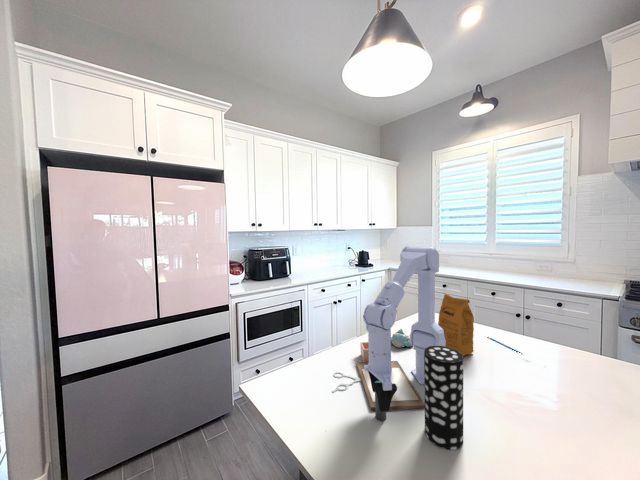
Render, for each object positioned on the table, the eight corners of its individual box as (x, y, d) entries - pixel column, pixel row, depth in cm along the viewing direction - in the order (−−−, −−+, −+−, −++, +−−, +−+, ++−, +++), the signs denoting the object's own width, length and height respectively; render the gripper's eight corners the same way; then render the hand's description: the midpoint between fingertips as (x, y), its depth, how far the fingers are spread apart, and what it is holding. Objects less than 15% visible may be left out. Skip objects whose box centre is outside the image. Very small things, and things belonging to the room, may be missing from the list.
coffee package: (451, 341, 113) (451, 291, 112) (477, 354, 101) (477, 298, 100) (433, 345, 109) (433, 293, 108) (458, 359, 98) (457, 301, 97)
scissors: (328, 372, 91) (384, 368, 92) (328, 374, 91) (384, 370, 92) (332, 391, 80) (396, 386, 82) (332, 394, 80) (396, 388, 82)
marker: (384, 412, 71) (384, 380, 70) (387, 421, 68) (387, 387, 67) (373, 413, 71) (373, 380, 70) (376, 421, 68) (375, 387, 67)
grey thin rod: (488, 338, 116) (488, 336, 116) (525, 356, 99) (525, 354, 99) (487, 338, 116) (487, 336, 116) (524, 356, 99) (524, 354, 99)
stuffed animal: (418, 329, 114) (410, 333, 104) (418, 346, 113) (409, 351, 103) (394, 324, 120) (384, 327, 111) (393, 340, 119) (383, 345, 110)
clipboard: (397, 363, 96) (397, 358, 96) (425, 408, 72) (425, 401, 72) (356, 365, 96) (356, 359, 95) (371, 410, 72) (371, 403, 71)
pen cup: (376, 354, 103) (376, 341, 103) (380, 362, 97) (380, 348, 97) (360, 354, 103) (360, 342, 103) (363, 362, 97) (363, 349, 97)
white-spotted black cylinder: (418, 423, 66) (418, 346, 66) (450, 421, 67) (449, 344, 66) (435, 451, 58) (435, 363, 57) (471, 448, 59) (471, 361, 58)
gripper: (359, 338, 75) (360, 384, 76) (370, 364, 61) (371, 421, 62) (383, 337, 76) (384, 383, 76) (400, 363, 61) (401, 420, 62)
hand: (380, 400), depth 69 cm, fingers open, 7 cm apart
